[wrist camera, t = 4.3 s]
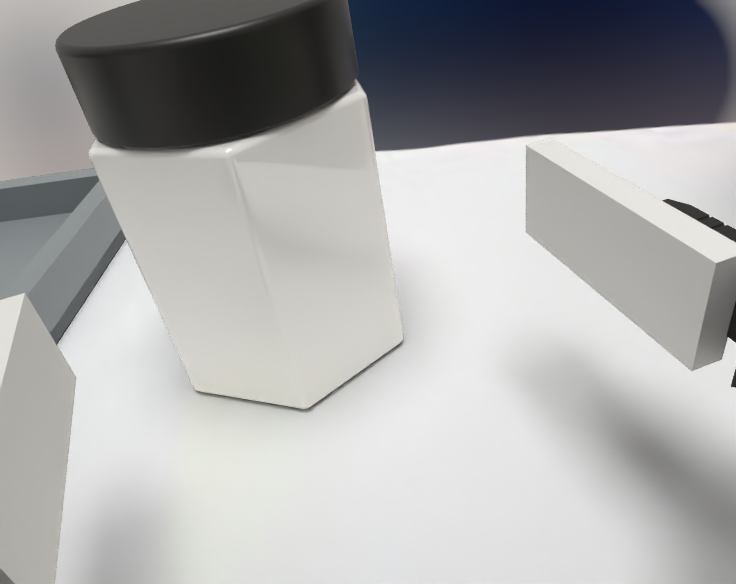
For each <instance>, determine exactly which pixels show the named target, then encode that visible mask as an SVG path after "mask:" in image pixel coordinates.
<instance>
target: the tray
mask: <svg viewBox="0 0 736 584" xmlns="http://www.w3.org/2000/svg"><path fill="white" fill-rule="evenodd" d="M124 240H125V236H124V234H123V231H122V229H121V227H120V225H119V223H118V220H117V218H116V216H115V214H114V211H113V209H112V207H111V205H110V203H109V200H108V198H107V196H106V194H105V192H104V189H103V187H102V185H101V183H100V181H99V178H98V176H97V174H96V172H95V170H94V168H89V169H82V170H75V171H69V172H62V173H55V174H47V175H40V176H33V177H26V178H19V179H12V180H5V181H0V300H2V299H5V298H9V297H12V296H16V295H19V294H22V293H25V294H26V295H27V297H28V299H29V300H30V302H31V303H32V305H33V307H34V308H35V310H36V312H37V313H38V315H39V317H40V318H41V320H42V322H43V323H44V325H45V327H46V328H47V330H48V332H49V333H50V335H51V336H52V338H53V340H54V341H55V343H56V344H57V343H58V341H59V339H60V338H61V336H62V335H63V333H64V332H65V330H66V329H67V327H68V326H69V324H70V323H71V321H72V320H73V318H74V316H75V315H76V313H77V312H78V310H79V309H80V307H81V306H82V304H83V303H84V301H85V300H86V298H87V297H88V295H89V294H90V292H91V290H92V289H93V287H94V286H95V284H96V283H97V281H98V280H99V278H100V277H101V275H102V274H103V272H104V271H105V269H106V268H107V266H108V264H109V263H110V261H111V260H112V258H113V257H114V255H115V254H116V252H117V251H118V249H119V248H120V246H121V245H122V243H123V241H124Z"/></svg>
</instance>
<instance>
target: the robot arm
mask: <svg viewBox="0 0 736 584" xmlns="http://www.w3.org/2000/svg"><path fill="white" fill-rule="evenodd" d="M526 233H527V234H529V235H530V236H531V237H532V238H533V239H534V240H536V241H537V242H538V243H539V244H540V245H542V246H543V247H544V248H545V249H546V250H548V251H549V252H550V253H551V254H552V255H554V256H555V257H556V258H557V259H558V260H560V261H561V262H562V263H563V264H564V265H566V266H567V267H568V268H569V269H570V270H572V271H573V272H574V273H575V274H576V275H577V276H579V277H580V278H581V279H582V280H583V281H585V282H586V283H587V284H588V285H589V286H591V287H592V288H593V289H594V290H595V291H597V292H598V293H599V294H600V295H601V296H603V297H604V298H605V299H606V300H607V301H609V302H610V303H611V304H612V305H613V306H614V307H616V308H617V309H618V310H619V311H620V312H622V313H623V314H624V315H625V316H626V317H628V318H629V319H630V320H631V321H632V322H634V323H635V324H636V325H637V326H638V327H640V328H641V329H642V330H643V331H644V332H646V333H647V334H648V335H649V336H650V337H652V338H653V339H654V340H655V341H656V342H657V343H659V344H660V345H661V346H662V347H663V348H665V349H666V350H667V351H668V352H669V353H671V354H672V355H673V356H674V357H675V358H677V359H678V360H679V361H680V362H681V363H683V364H684V365H685V366H686V367H687V368H689V369H690V370H691V371H693V370H696V369H698V368H701V367H703V366H706V365H709V364H711V363H714V362H716V361H719V360H721V359H722V357H723V353H724V349H725V346H726V342H727V338H728V337H729V338H730V339H732V340H733V341H734V342H736V229H734V228H732V227H730V226H728V225H726V226H724V223H723V222H721V221H719V220H717V219H715V218H714V217H711V218H710V217H709V215H708V214H706V213H704V212H703V211H701V210H699V209H697V208H695V207H693V206H692V205H688V204H685V203H681V202H677V201H674V200H670V199H666V200H663V201H662V200H660V199H658V198H656V197H654V196H653V195H651V194H649V193H647V192H646V191H644V190H642V189H640V188H639V187H637V186H635V185H633V184H631V183H630V182H628V181H626V180H624V179H623V178H621V177H619V176H617V175H616V174H614V173H612V172H610V171H609V170H607V169H605V168H603V167H601V166H600V165H598V164H596V163H594V162H593V161H591V160H589V159H587V158H586V157H584V156H582V155H580V154H578V153H577V152H575V151H573V150H571V149H570V148H568V147H566V146H564V145H563V144H561V143H559V142H557V141H555V140H554V139H552V138H549V139H546V140H542V141H539V142H536V143H532V144H529V145H526ZM75 385H76V376H75V374H74V373H73V371H72V370H71V368H70V366H69V365H68V363H67V361H66V360H65V358H64V356H63V355H62V353H61V351H60V350H59V348H58V346H57V345H56V343H55V341H54V340H53V338H52V336H51V335H50V333H49V332H48V330H47V328H46V327H45V325H44V323H43V322H42V320H41V318H40V317H39V315H38V313H37V312H36V310H35V308H34V307H33V305H32V303H31V302H30V300H29V299H28V297H27V295H26V294H25V293H22V294H19V295H16V296H12V297H9V298H5V299H2V300H0V584H55V577H56V568H57V558H58V548H59V539H60V529H61V520H62V510H63V500H64V491H65V481H66V471H67V462H68V452H69V442H70V433H71V423H72V414H73V404H74V394H75ZM731 387H736V369H735V373H734V376H733V380H732V384H731Z"/></svg>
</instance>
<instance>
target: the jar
mask: <svg viewBox="0 0 736 584" xmlns="http://www.w3.org/2000/svg"><path fill="white" fill-rule="evenodd" d="M55 47H56V51H57V53H58V55H59V58H60V60H61V63H62V65H63V67H64V69H65V71H66V74H67V76H68V78H69V81H70V83H71V85H72V88H73V90H74V92H75V94H76V96H77V99H78V101H79V103H80V106H81V108H82V110H83V113H84V115H85V117H86V119H87V122H88V124H89V126H90V128H91V131H92V133H93V134H94V135H95V137H96V138H95V140H94V142H93V144H92V146H91V148H90V150H89V153H88V155H89V158H90V161H91V163H92V165H93V167H94V170H95V172H96V174H97V176H98V178H99V181H100V183H101V185H102V187H103V189H104V192H105V194H106V196H107V198H108V200H109V203H110V205H111V207H112V209H113V211H114V214H115V216H116V218H117V220H118V223H119V225H120V227H121V229H122V231H123V234H124V236H125V238H126V240H127V242H128V245H129V247H130V249H131V251H132V253H133V256H134V258H135V260H136V262H137V264H138V267H139V269H140V271H141V273H142V275H143V278H144V280H145V282H146V284H147V286H148V289H149V291H150V293H151V295H152V297H153V300H154V302H155V304H156V306H157V308H158V311H159V313H160V315H161V317H162V319H163V322H164V324H165V326H166V328H167V330H168V333H169V335H170V337H171V339H172V341H173V344H174V346H175V348H176V350H177V352H178V355H179V357H180V359H181V361H182V363H183V366H184V368H185V370H186V372H187V374H188V377H189V379H190V381H191V383H192V385H193V387H194V389H195V390H197V391H200V392H206V393H212V394H218V395H224V396H230V397H236V398H242V399H248V400H253V401H259V402H265V403H271V404H277V405H283V406H289V407H295V408H301V409H307V408H309V407H311V406H312V405H314V404H315V403H317V402H318V401H319V400H321V399H322V398H324V397H325V396H326V395H328V394H329V393H331V392H332V391H333V390H335V389H336V388H338V387H339V386H340V385H342V384H343V383H345V382H346V381H348V380H349V379H350V378H352V377H353V376H355V375H356V374H357V373H359V372H360V371H362V370H363V369H364V368H366V367H367V366H369V365H370V364H371V363H373V362H374V361H376V360H377V359H379V358H380V357H381V356H383V355H384V354H386V353H387V352H388V351H390V350H391V349H393V348H394V347H395V346H397V345H398V344H400V343H401V342H402V340H403V330H402V323H401V317H400V310H399V304H398V297H397V291H396V284H395V277H394V271H393V264H392V258H391V251H390V245H389V238H388V232H387V225H386V219H385V212H384V206H383V199H382V193H381V186H380V180H379V173H378V167H377V160H376V153H375V147H374V141H373V134H372V127H371V121H370V114H369V108H368V101H367V96H366V94H365V92H364V91H363V89H362V87H361V86H360V84H359V82H358V81H357V79H356V77H357V75H358V65H357V58H356V52H355V45H354V39H353V33H352V26H351V20H350V14H349V7H348V1H347V0H140V1H137V2H134V3H130V4H127V5H124V6H121V7H118V8H115V9H112V10H109V11H106V12H103V13H101V14H98V15H96V16H93V17H91V18H88V19H86V20H84V21H81V22H79V23H77V24H75V25H73V26H72V27H70V28H68V29H67V30H65V31H64V32H63V33H62V34H61V35H60V36H59V37H58V39H57V40H56V44H55Z"/></svg>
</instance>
